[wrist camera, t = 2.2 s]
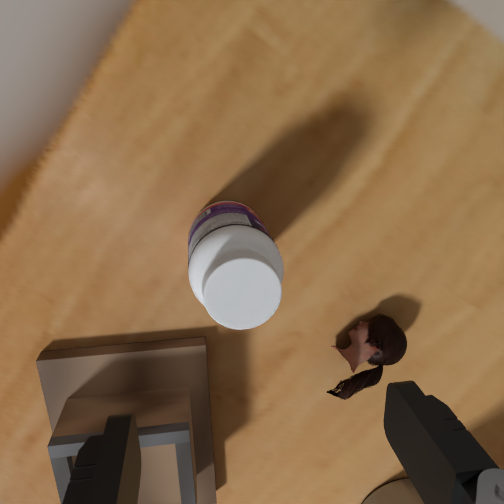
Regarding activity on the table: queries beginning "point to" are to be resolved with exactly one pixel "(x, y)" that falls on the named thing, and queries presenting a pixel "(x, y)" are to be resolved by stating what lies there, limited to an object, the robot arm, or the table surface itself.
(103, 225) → the table surface
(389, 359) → the head bust
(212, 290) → the pill bottle
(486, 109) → the table surface
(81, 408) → the display stand
